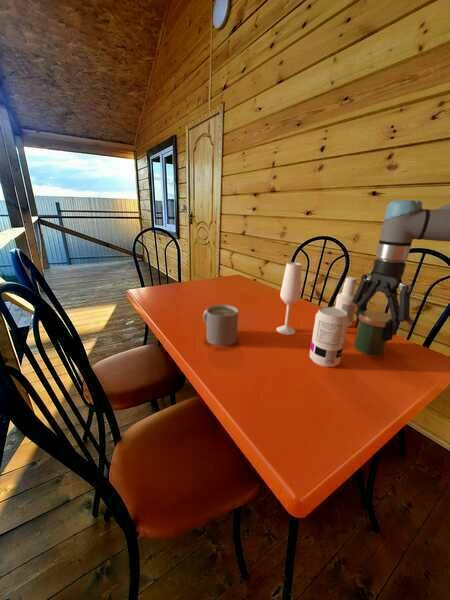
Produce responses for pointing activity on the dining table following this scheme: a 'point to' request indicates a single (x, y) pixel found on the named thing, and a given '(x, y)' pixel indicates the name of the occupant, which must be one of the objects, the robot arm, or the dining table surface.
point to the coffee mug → (221, 324)
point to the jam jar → (370, 339)
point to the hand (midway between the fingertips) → (372, 332)
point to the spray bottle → (347, 299)
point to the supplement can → (328, 336)
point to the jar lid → (374, 318)
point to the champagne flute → (290, 292)
